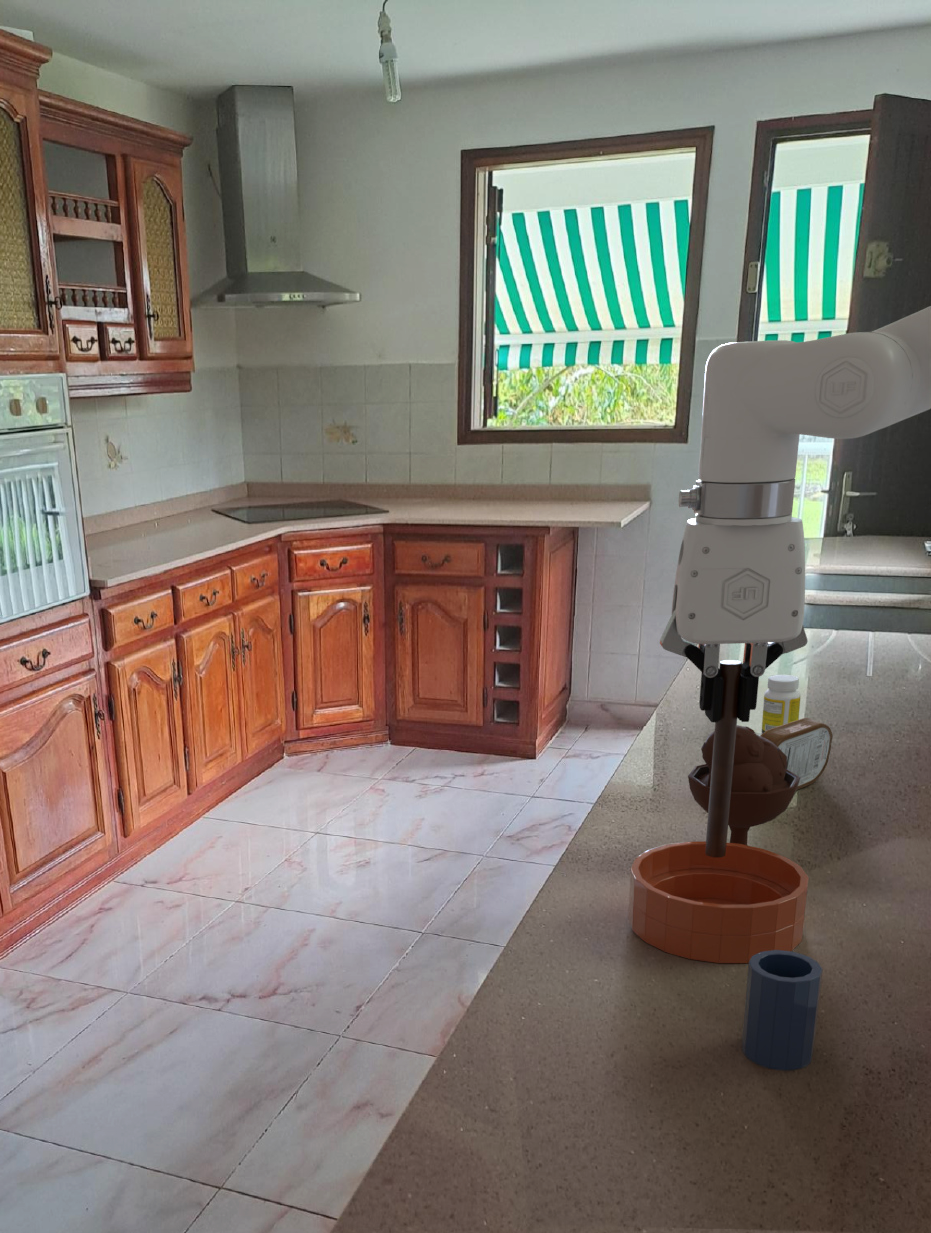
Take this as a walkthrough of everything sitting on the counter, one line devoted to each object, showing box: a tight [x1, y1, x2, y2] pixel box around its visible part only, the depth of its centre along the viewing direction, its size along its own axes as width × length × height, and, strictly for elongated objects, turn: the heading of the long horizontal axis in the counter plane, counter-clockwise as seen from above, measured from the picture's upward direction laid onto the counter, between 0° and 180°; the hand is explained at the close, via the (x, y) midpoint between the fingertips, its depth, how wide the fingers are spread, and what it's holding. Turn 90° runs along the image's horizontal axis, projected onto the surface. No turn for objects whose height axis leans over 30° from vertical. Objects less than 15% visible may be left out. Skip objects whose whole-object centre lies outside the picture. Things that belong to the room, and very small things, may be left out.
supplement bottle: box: [761, 674, 802, 734], centre depth 163 cm, size 5×5×8 cm
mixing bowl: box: [628, 840, 809, 964], centre depth 108 cm, size 15×15×6 cm
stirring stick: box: [705, 659, 743, 858], centre depth 103 cm, size 2×2×18 cm
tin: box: [759, 717, 834, 791], centre depth 142 cm, size 15×3×8 cm, turn 126°
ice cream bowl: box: [687, 724, 801, 846], centre depth 122 cm, size 11×11×15 cm
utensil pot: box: [741, 950, 824, 1071], centre depth 87 cm, size 5×5×8 cm
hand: (726, 716), depth 102 cm, fingers closed on stirring stick, 1 cm apart
